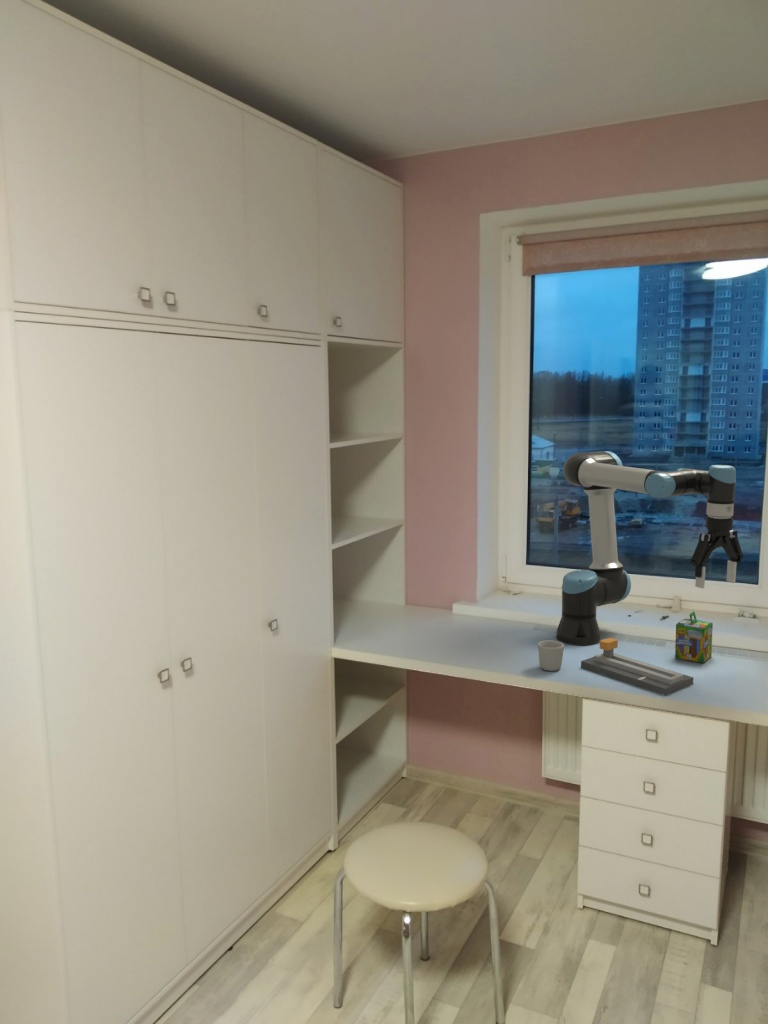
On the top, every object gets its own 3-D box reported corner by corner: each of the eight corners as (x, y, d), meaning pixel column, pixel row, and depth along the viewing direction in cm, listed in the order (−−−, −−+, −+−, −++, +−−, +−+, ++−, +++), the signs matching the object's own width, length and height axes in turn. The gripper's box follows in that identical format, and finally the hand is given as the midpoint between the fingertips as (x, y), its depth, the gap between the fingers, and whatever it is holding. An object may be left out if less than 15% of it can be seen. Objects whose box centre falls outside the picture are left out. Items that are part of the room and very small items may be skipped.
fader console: (580, 667, 249) (581, 656, 248) (608, 657, 257) (609, 647, 256) (665, 695, 225) (665, 683, 224) (693, 683, 233) (693, 672, 233)
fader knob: (599, 660, 248) (599, 640, 247) (609, 657, 251) (609, 637, 250) (607, 663, 246) (607, 643, 245) (617, 659, 249) (617, 640, 248)
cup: (541, 660, 256) (541, 636, 254) (566, 663, 253) (567, 638, 252) (535, 671, 246) (535, 646, 245) (561, 674, 243) (561, 649, 242)
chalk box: (703, 664, 250) (705, 618, 247) (673, 658, 255) (675, 614, 253) (712, 656, 257) (714, 612, 254) (683, 651, 262) (685, 607, 260)
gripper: (700, 522, 231) (696, 592, 234) (758, 514, 242) (753, 582, 246) (680, 518, 238) (676, 586, 241) (737, 511, 249) (733, 577, 252)
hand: (715, 584), depth 243 cm, fingers open, 13 cm apart
